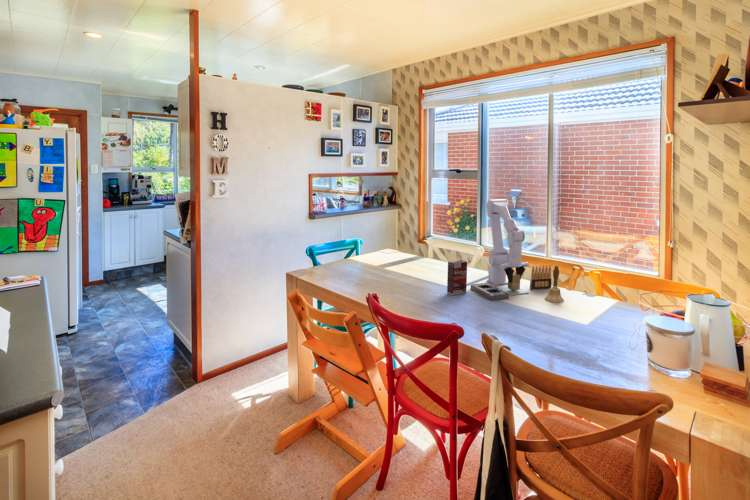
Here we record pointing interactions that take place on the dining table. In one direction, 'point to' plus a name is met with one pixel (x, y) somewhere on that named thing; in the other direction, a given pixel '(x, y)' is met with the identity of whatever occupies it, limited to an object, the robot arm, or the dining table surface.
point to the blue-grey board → (515, 291)
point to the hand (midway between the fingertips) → (514, 282)
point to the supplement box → (457, 277)
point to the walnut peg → (515, 282)
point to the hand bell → (554, 289)
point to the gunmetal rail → (489, 291)
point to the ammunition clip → (540, 278)
